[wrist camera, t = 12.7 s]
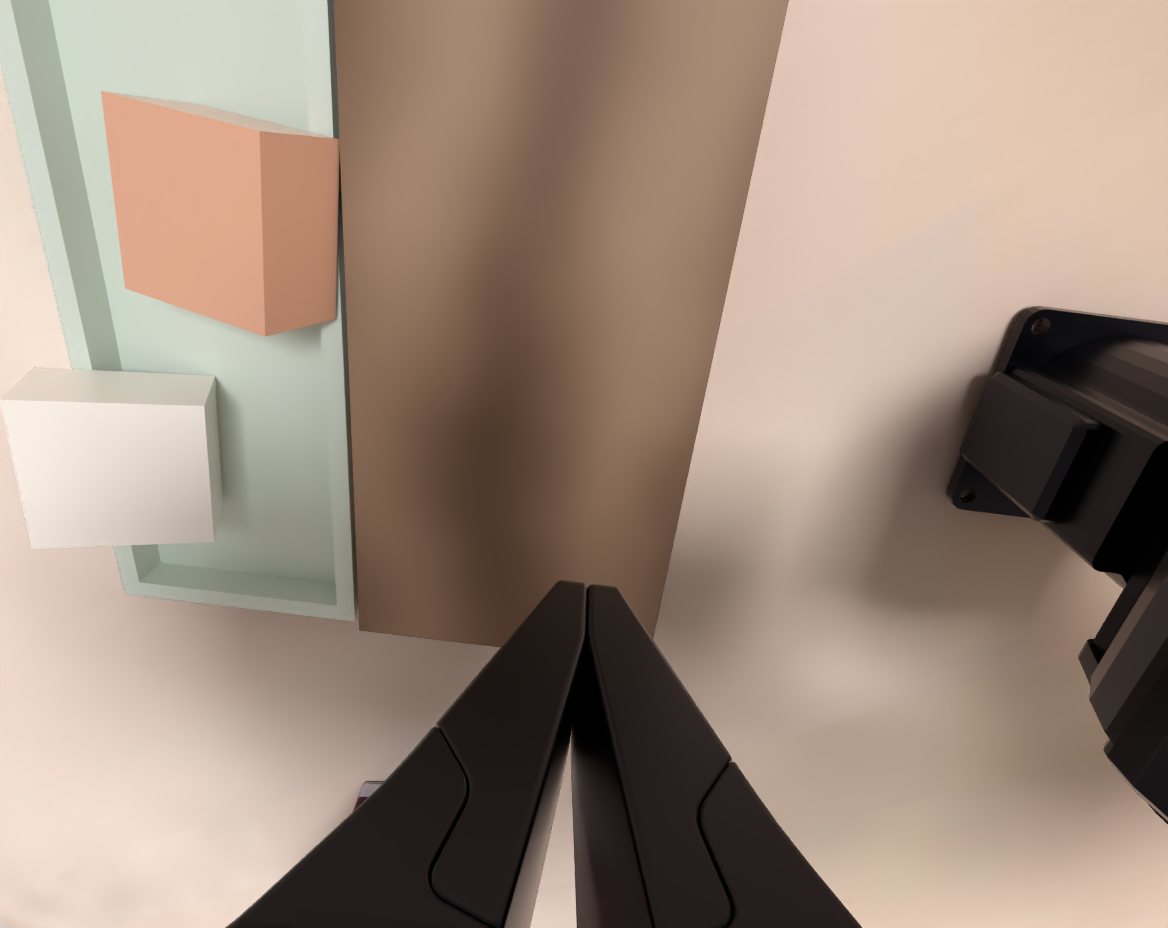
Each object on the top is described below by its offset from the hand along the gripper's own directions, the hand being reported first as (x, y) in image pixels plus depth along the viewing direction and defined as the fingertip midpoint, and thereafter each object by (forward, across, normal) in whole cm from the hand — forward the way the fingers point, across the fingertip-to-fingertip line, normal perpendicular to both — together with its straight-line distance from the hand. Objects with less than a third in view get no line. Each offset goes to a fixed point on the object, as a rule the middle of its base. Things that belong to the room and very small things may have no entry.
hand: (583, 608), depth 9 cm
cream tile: (+8, +13, +4) cm, 16 cm away
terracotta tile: (+11, +9, -3) cm, 15 cm away
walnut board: (+12, +2, 0) cm, 12 cm away
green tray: (+12, +11, 0) cm, 16 cm away
